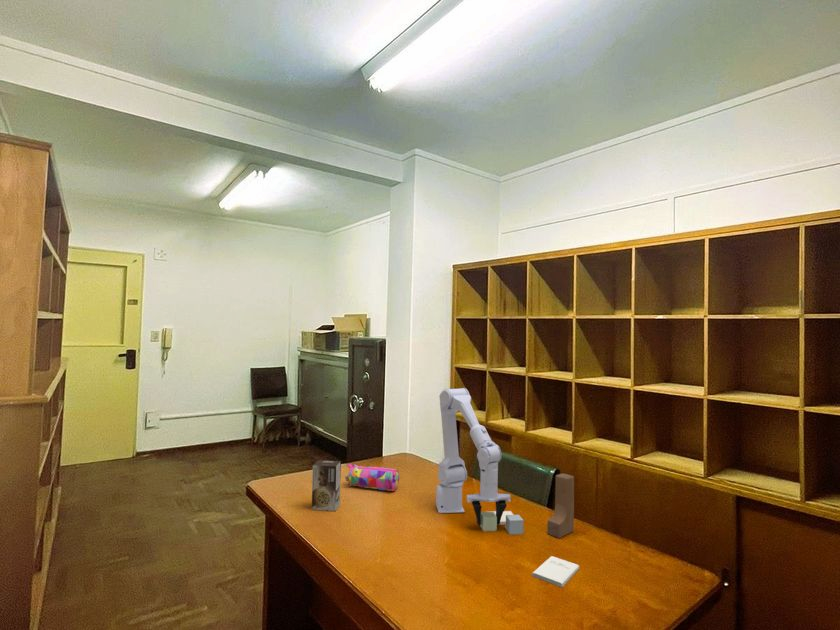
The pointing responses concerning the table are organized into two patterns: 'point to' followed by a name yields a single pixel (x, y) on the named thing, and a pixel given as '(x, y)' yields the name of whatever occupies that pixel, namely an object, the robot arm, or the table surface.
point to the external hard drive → (556, 571)
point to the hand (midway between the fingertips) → (488, 523)
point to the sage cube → (488, 521)
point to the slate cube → (514, 524)
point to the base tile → (503, 516)
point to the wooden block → (562, 507)
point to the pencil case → (373, 477)
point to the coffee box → (326, 485)
